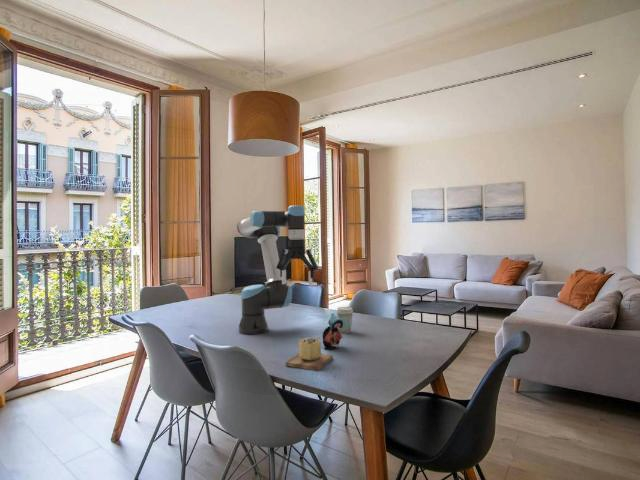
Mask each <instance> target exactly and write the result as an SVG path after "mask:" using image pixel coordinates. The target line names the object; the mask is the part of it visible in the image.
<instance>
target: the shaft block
mask: <svg viewBox="0 0 640 480" xmlns="http://www.w3.org/2000/svg"><path fill="white" fill-rule="evenodd" d="M305 338H306V342H308V343H311V342H313V338H314V337H312V336H311V337H310V336H308V337H305ZM332 359H333V354H330V353H329V354H328V353H321V356H320V357H319V358H318V359H311V360H308V359H302V358H300V357H299V352H298V353H296V354H295V355H293V356H292V357H291V358H290V359H288V360H287V361H286V362H285V367H287V366H291V367H290V368H295V367H297V369H302V368H303V369H304V370H310V369H312V371H318V370H319V371H318V372H320V371H322V369H324V368H325V367H326V366H327V364H328V363H330V361H332Z"/></svg>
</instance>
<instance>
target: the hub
mask: <svg viewBox="0 0 640 480" xmlns="http://www.w3.org/2000/svg"><path fill="white" fill-rule="evenodd" d="M306 338H307V337H305V338H301V339H299V340H298V353H299V357H300V358H302V359H308V360H311V359H318V358H319V357H320V356H321V354H322V341H321V339H319V338H316V337H312V338H313V342H311V343H308V342H306Z"/></svg>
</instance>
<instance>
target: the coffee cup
mask: <svg viewBox="0 0 640 480" xmlns="http://www.w3.org/2000/svg"><path fill="white" fill-rule="evenodd" d="M353 313H354V310H353V308H352V307H350V306H341V307H337V309H336V314H337V315H336V316H337V317H338V318H340V319H342V320H343V327H342V328H338V329H339V330H340V332H341V334H349V333H351V332H352V325H353V323H352V322H353V315H354V314H353Z"/></svg>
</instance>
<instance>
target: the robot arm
mask: <svg viewBox="0 0 640 480" xmlns="http://www.w3.org/2000/svg"><path fill="white" fill-rule="evenodd" d="M280 227H284V228H287V229H288V230H287V231H288V249H286V248H283V249H282V250H281V255H280V257H279V251H278V246H277V241H278V238H279V237H280V234H281V233H280V232H281V231H280V230H281V228H280ZM236 229H237V232H238V234H239V235H241V236H242V237H245V238H247V239H257V243H259V244H260V247H261V253H262V258H263V263H264V271H265V275H266V277H265V278H266V280H267V281H266V283H265V285H264V284H252V285H248V286H245V287H243V289H242V290H241V297H240V298H241V319H240V321H239V325H238V332H239V334H243V335H258V334H262V333H266V332H267V331H269V325H268V321H267V319H266V316H265V315H266V314H265V310H271V309H282V308H288V307H289V306H291V303H292V299H293V288H292V286H291V285H290V284H287V270H286V268H287V266H288V265H289V264H290V262H291V261H292V260H301V261H302V262H303V263H304V264H305V266H306V267H307V268H308V269H309V271H308V286H312V285H313V279H314V278H315V271H316V270H319V267H318V265H317V262H316V261H315V258H314V255H313V253H312V249H309V248H308V249H305V247H306V246H305V243H306V242H305V238H306V237H305V234H306V233H305V207H304V206H302V205H289V206H288V207H287V211H285V210H253V211H251V213H250V216H249V217H244V218H241V219H240V220H239V221H238V222H237V225H236ZM288 254H289V255H288ZM305 254H306V255H307V257H306V255H305ZM287 255H288V256H287ZM286 257H287V258H286Z"/></svg>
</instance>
